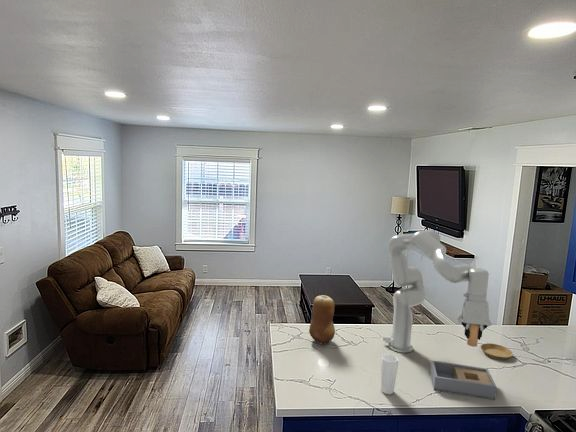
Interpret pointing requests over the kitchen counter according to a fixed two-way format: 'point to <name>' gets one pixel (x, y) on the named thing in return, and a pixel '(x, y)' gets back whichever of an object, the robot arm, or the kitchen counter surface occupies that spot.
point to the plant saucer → (496, 351)
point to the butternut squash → (322, 320)
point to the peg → (473, 335)
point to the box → (462, 380)
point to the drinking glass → (388, 373)
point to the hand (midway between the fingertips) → (472, 337)
